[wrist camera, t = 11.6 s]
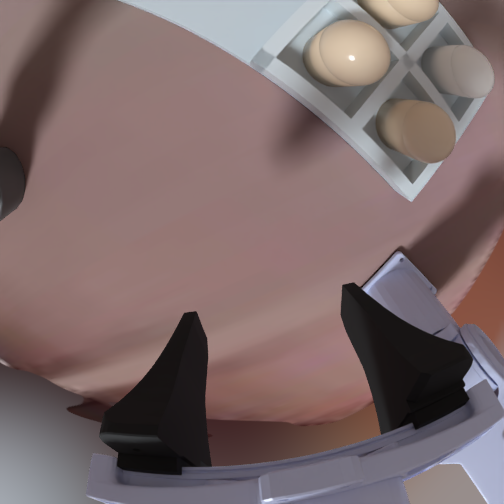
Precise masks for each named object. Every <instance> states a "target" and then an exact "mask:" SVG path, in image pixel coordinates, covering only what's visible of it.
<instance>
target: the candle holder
mask: <svg viewBox="0 0 504 504" xmlns="http://www.w3.org/2000/svg"><path fill="white" fill-rule="evenodd" d="M24 191H25V176H24V172H23V169H22V165H21V162H20V161H19V159H18V158H17V156H16V154H15V153H14V152H12V151H11V150H9V149H8V148H0V221H1V220H2V219H3V218H5V217H6V216H7V215H9V214H10V213H11V212H13V211H14V210H15V209H17V207H18V206H19V205H20V203H21V202H22V200H23V195H24Z"/></svg>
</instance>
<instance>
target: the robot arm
mask: <svg viewBox="0 0 504 504" xmlns="http://www.w3.org/2000/svg"><path fill="white" fill-rule="evenodd" d="M401 258H402V259H401ZM400 259H401V260H400ZM436 292H437V289H436V288H435V287H434V286H433V285H432V284H431V283H430V282H429V280H428V279H427V278H426V277H425V276H424V275H423V274H422V273H421V272H420V271H419V270H418V269H417V268H416V267H415V266H414V265H413V264H412V263H411V262H410V261H409V260H408V259H407V258H406V257H405V256H404V255H403V254H402V253H401V252H400V251H397V252H396V253H395V254H394V255H393V256H392V257H391V258H390V259H389V260H388V261H387V262H386V263H385V264H384V266H383V267H382V268H381V269H380V270H379V271H378V272H377V273H376V274H375V275H374V276H373V277H372V278H371V279H370V280H369V281H368V282H367V283H366V284H365V285H364V286H363V287H362V288H360V287H359V286H357V285H356V284H355V283H349V284H345V285H342V301H341V318H342V321H343V324H344V327H345V330H346V332H347V334H348V337H349V339H350V341H351V343H352V345H353V347H354V349H355V351H356V353H357V355H358V357H359V360H360V362H361V364H362V366H363V368H364V371H365V374H366V377H367V380H368V383H369V386H370V389H371V393H372V396H373V400H374V404H375V408H376V412H377V416H378V421H379V426H380V431H381V435H379V436H376V437H373V438H370V439H367V440H365V441H361V442H358V443H355V444H351V445H348V446H344V447H341V448H337V449H333V450H329V451H325V452H321V453H317V454H312V455H307V456H302V457H297V458H292V459H286V460H279V461H273V462H265V463H257V464H248V465H236V466H220V467H212V465H211V458H210V451H209V443H208V435H207V423H206V408H205V392H206V378H207V365H208V345H207V337H206V335H205V332H204V330H203V327H202V325H201V322H200V319H199V317H198V314H197V312H196V311H194V312H187V313H184V314H183V316H182V318H181V320H180V322H179V324H178V326H177V328H176V329H175V331H174V333H173V335H172V337H171V338H170V340H169V342H168V344H167V345H166V347H165V349H164V350H163V352H162V353H161V355H160V356H159V358H158V359H157V361H156V362H155V364H154V365H153V366H152V368H151V369H150V370H149V372H148V373H147V374H146V375H145V376H144V378H143V379H142V380H141V381H140V382H139V383H138V384H137V385H136V386H135V387H134V388H133V389H132V390H131V391H130V392H129V393H128V394H127V395H126V396H125V397H124V398H123V399H121V400H120V401H119V402H118V403H116V404H115V405H114V406H112V407H111V408H110V409H108V410H107V411H106V412H105V413H104V416H103V419H102V425H101V429H100V435H99V437H100V439H101V440H102V441H103V442H104V443H105V444H107V445H108V446H109V447H111V448H112V449H114V450H115V451H117V452H118V458H116V457H113V456H108V455H103V454H97V453H93V454H92V458H91V464H90V470H89V477H88V484H87V491H86V495H87V496H88V497H90V498H93V499H96V500H98V501H101V502H104V503H107V504H410V503H409V499H408V496H407V492H406V489H405V486H404V483H403V482H404V481H406V480H408V479H410V478H412V477H414V476H416V475H418V474H420V473H422V472H424V471H426V470H428V469H430V468H432V467H434V466H436V465H437V464H452V463H453V464H461V466H462V467H463V468H464V470H465V471H466V472H467V474H468V475H469V477H470V478H471V480H472V481H473V483H474V484H475V485H476V487H477V488H478V490H479V491H480V493H481V494H482V496H483V497H484V499H485V500H486V502H487V503H488V504H504V358H503V357H502V355H501V354H500V352H499V351H498V349H497V348H496V347H495V345H494V344H493V343H492V341H491V340H490V339H489V338H488V337H487V335H486V334H485V333H484V332H483V331H482V330H481V329H480V328H479V327H477V326H476V325H475V324H465V325H463V327H462V328H460V327H459V326H458V325H457V323H456V322H455V321H454V319H453V318H452V317H451V315H450V314H449V313H448V311H447V310H446V309H445V308H444V306H443V305H442V304H441V302H440V301H439V300H438V299H437V297H436V296H435V294H436Z"/></svg>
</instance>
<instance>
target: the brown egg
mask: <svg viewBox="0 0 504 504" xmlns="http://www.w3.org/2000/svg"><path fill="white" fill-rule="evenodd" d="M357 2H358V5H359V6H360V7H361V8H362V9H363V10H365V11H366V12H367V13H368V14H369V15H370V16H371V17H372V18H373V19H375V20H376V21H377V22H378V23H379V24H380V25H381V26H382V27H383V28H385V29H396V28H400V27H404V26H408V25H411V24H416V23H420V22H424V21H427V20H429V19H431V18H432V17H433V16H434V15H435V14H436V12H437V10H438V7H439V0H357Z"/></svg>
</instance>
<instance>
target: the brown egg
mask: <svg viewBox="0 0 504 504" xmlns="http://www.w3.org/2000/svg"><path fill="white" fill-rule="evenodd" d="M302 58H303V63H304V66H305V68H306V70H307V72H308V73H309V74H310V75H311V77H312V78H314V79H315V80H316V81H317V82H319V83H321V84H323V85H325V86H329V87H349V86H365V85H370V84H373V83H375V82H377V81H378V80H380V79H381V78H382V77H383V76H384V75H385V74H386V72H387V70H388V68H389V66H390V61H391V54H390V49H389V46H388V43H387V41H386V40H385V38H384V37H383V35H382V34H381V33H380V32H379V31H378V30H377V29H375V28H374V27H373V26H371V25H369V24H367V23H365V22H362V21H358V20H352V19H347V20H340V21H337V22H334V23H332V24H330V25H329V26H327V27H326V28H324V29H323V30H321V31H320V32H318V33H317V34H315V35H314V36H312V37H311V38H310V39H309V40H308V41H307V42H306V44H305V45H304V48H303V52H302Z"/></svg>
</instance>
